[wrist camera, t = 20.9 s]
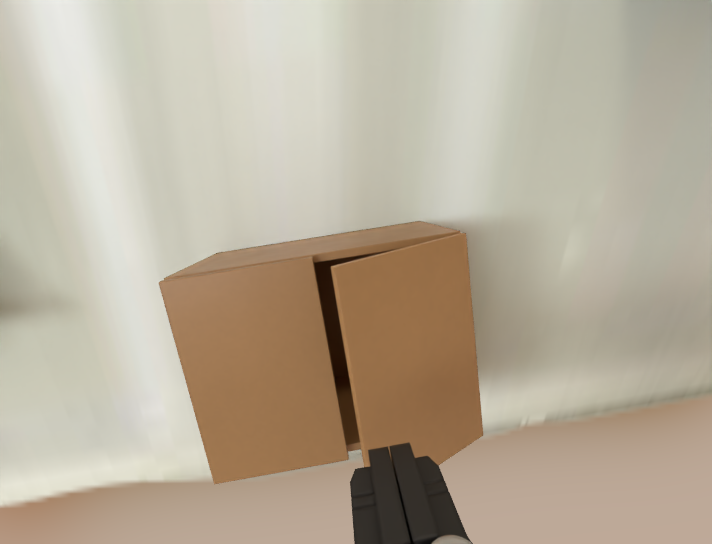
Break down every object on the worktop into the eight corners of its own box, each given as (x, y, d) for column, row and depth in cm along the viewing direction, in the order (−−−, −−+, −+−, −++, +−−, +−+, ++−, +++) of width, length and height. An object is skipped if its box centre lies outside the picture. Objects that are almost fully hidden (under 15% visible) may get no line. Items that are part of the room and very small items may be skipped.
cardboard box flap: (460, 232, 20) (466, 232, 20) (478, 432, 23) (483, 435, 22) (330, 266, 16) (334, 267, 16) (370, 503, 19) (374, 508, 18)
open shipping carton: (420, 220, 30) (465, 232, 20) (435, 362, 32) (483, 436, 22) (216, 253, 29) (156, 281, 19) (250, 394, 32) (212, 485, 22)
